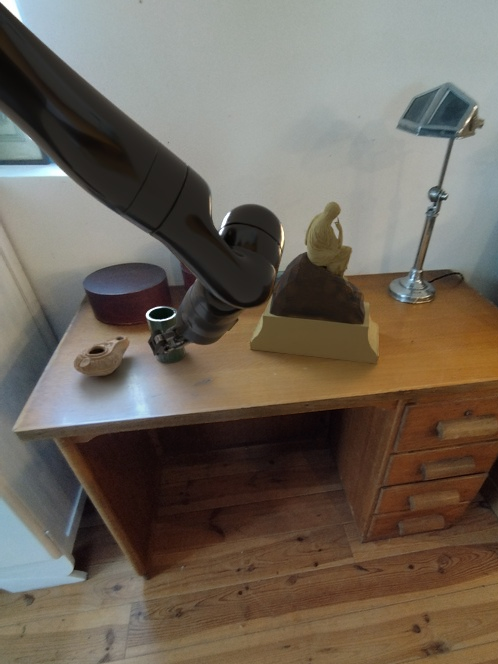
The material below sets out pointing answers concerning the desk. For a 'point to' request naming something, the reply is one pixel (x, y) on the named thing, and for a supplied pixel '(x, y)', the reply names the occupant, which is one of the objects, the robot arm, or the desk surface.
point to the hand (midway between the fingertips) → (185, 343)
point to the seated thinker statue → (319, 302)
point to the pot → (164, 329)
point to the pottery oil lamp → (102, 357)
